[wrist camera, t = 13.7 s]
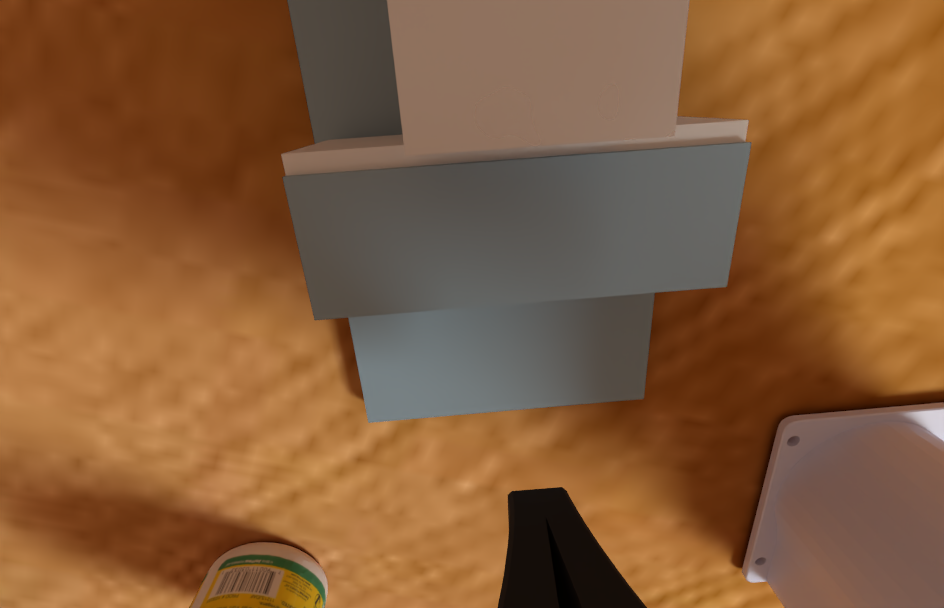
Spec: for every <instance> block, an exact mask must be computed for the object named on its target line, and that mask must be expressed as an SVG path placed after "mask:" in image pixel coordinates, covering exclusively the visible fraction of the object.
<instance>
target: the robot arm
mask: <svg viewBox="0 0 944 608" xmlns="http://www.w3.org/2000/svg"><path fill="white" fill-rule="evenodd" d="M508 515H509V539H508V549H507V556H506V564H505V571H504V578H503V583H502V588H501V593H500V598H499V603H498V608H647V607H646V606H645V605H644V603H643V602H642V601H641V600H640V598H639V597H638V596H637V595H636V593H635V592H634V591H633V590H632V588H631V587H630V586H629V585H628V583H627V582H626V581H625V579H624V578H623V577H622V575H621V574H620V573H619V571H618V570H617V569H616V567H615V566H614V564H613V563H612V562H611V560H610V559H609V557H608V556H607V555H606V553H605V552H604V551H603V549H602V548H601V546H600V545H599V543H598V542H597V540H596V539H595V537H594V536H593V534H592V533H591V531H590V530H589V528H588V527H587V525H586V524H585V522H584V521H583V519H582V517H581V516H580V514H579V512H578V511H577V509H576V507H575V506H574V504H573V502H572V500H571V499H570V497H569V495H568V493H567V491H566V490H565V489H564V488H562V487H559V488H546V489H534V490H522V491H512V492H511V493H510V494H509V495H508ZM742 573H743V575H744V577H745V578H746V580H747V581H749V582H764V581H767V582H768V583H769V585H770V586H771V588H772V589H773V591H774V592H775V594H776V595H777V597H778V598H779V600H780V601H781V603H782V604H783V606H784V607H785V608H944V402H942V403H930V404H919V405H908V406H896V407H885V408H873V409H862V410H851V411H839V412H828V413H816V414H805V415H794V416H789V417H786V418H784V419H783V420H782V421H781V422H780V424H779V426H778V429H777V433H776V437H775V441H774V445H773V449H772V453H771V457H770V461H769V465H768V469H767V473H766V477H765V481H764V485H763V489H762V493H761V496H760V500H759V504H758V508H757V512H756V516H755V520H754V524H753V528H752V532H751V536H750V540H749V544H748V548H747V552H746V556H745V560H744V564H743V568H742Z"/></svg>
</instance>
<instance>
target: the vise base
mask: <svg viewBox="0 0 944 608" xmlns="http://www.w3.org/2000/svg"><path fill="white" fill-rule="evenodd" d="M287 1H288V6H289V12H290V17H291V22H292V27H293V32H294V38H295V43H296V48H297V53H298V58H299V64H300V69H301V74H302V79H303V84H304V90H305V95H306V100H307V105H308V110H309V116H310V121H311V126H312V131H313V136H314V142H315V144H316V143H319V142H323V141H326V140H333V139H347V138H361V137H374V136H388V135H402V134H403V133H402V125H401V116H400V108H399V99H398V90H397V82H396V73H395V65H394V56H393V48H392V39H391V31H390V22H389V14H388V5H387V0H287ZM654 296H655V293H645V294H633V295H620V296H608V297H596V298H583V299H571V300H559V301H546V302H534V303H522V304H509V305H497V306H485V307H472V308H460V309H448V310H435V311H423V312H411V313H398V314H386V315H374V316H361V317H349V318H348V319H349V324H350V329H351V334H352V339H353V345H354V350H355V355H356V360H357V366H358V371H359V376H360V381H361V386H362V392H363V397H364V402H365V407H366V412H367V418H368V423H370V422H382V421H394V420H405V419H417V418H428V417H440V416H451V415H463V414H475V413H486V412H498V411H509V410H521V409H533V408H544V407H556V406H567V405H579V404H591V403H602V402H614V401H625V400H637V399H644V393H645V383H646V373H647V363H648V354H649V344H650V334H651V325H652V315H653V305H654Z"/></svg>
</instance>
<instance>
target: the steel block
mask: <svg viewBox="0 0 944 608" xmlns="http://www.w3.org/2000/svg"><path fill="white" fill-rule="evenodd" d="M387 5H388V14H389V22H390V31H391V39H392V48H393V56H394V65H395V73H396V82H397V90H398V99H399V108H400V116H401V125H402V133H403V142H404V150H405V156H411V155H425V154H439V153H453V152H466V151H480V150H494V149H508V148H522V147H536V146H550V145H564V144H578V143H591V142H605V141H619V140H633V139H647V138H661V137H675V130H676V121H677V112H678V102H679V93H680V84H681V74H682V65H683V56H684V46H685V37H686V28H687V19H688V9H689V0H387Z"/></svg>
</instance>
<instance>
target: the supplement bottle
mask: <svg viewBox="0 0 944 608" xmlns="http://www.w3.org/2000/svg"><path fill="white" fill-rule="evenodd" d="M327 591H328V583H327V578H326V576H325V573H324V571H323V569H322V568H321V566H320V565H319V564H318V563H317V562H316V561H315V560H314V559H313V558H312V557H311V556H309V555H308V554H306V553H304V552H303V551H301V550H299V549H297V548H294V547H292V546H288V545H285V544H279V543H272V542H256V543H250V544H245V545H241V546H239V547H236V548H233V549H231V550H229V551H228V552H226V553H224V554H223V555H222V556H220V557H219V558H218V559H217V560H216V561H215V562H214V563H213V565H212V566H211V567H210V569H209V571H208V573H207V574H206V576H205V578H204V580H203V581H202V584H201V586H200V588H199V590H198V592H197V594H196V596H195V598H194V600H193V601H192V603H191V605H190V607H189V608H325V604H326V598H327Z"/></svg>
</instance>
